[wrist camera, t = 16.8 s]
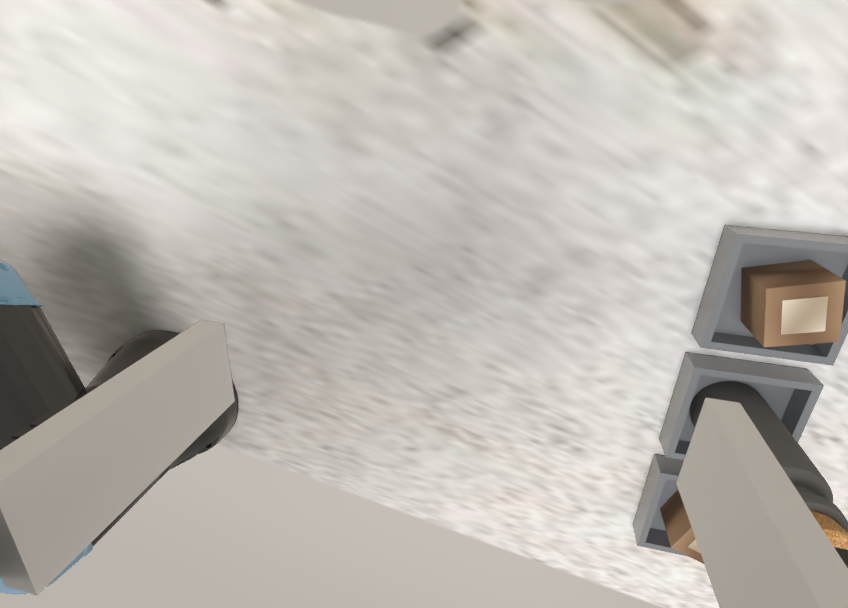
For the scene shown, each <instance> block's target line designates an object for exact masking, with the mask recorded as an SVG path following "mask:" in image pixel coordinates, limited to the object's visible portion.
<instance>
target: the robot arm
mask: <svg viewBox="0 0 848 608" xmlns="http://www.w3.org/2000/svg"><path fill="white" fill-rule="evenodd" d="M41 306H42V305H41V303H40V302H39V301H37V300H35V299H34V297H33V296H32V294H31V293H30V291H29V290H28V288H27V287H26V285H25V284H24V282H23V281H22V279H21V277H20V276H19V274H18V273H17V271H16V270H15V269H14V268H13V267H12V266H11V265H9V264H8V263H6V262H4V261H1V260H0V592H1V593H7V594H27V593H31V594H34V595H38V594H39V593H40V592H41V591H42V590H43V589H44V588H45V587H47V586H49V585H50V584H52V583H53V582H54V581H56V580H57V579H58V578H59V577H60V576H61V575H63V574H64V573H65V572H66V571H67V570H68V569H70V568H71V567H72V566H73V565H74V564H75V563H76V562H78V561H79V560H80V559H81V558H82V557H83V556H86V555H87V554H88V553H89V552H90V551H91V550H92V548H93V546H94V545H95V544H96V543H97V542H98V541H99V540H100V539H101V538H102V537H103V536H104V535H105V534H106V533H107V532H108V531H109V530H110V529H111V528H112V527H113V526H114V525H115V524H116V523H117V522H118V521H119V520H120V519H121V517H122V516H124V515H125V514H126V513H127V512H128V511H129V509H130V508H132V507H133V505H135V503H136V502H137V501H138V500H139V499H140V498H141V497H142V496H143V495H144V494H145V493H146V492H147V491H148V490H149V489H150V488H151V487H152V486H153V485H154V484H155V483H156V482H157V481H158V480H159V479H160V478H161V477H162V476H163V475H164V474H165V473H166V472H167V471H168V470H170V469H172V468H174V467H175V466H177V465H179V464H181V463H183V462H185V461H187V460H189V459H191V458H193V457H194V456H196V455H197V454H200V453H202V452H205V451H207V450H208V449H210V448H212V447H213V446H215V445H216V444H217V443H218V442H219V441H220V440H221V439H222V438H223V437H224V436H225V435H226V434H227V433H228V432H229V431H230V429H231V428H232V427H233V425H234V423H235V420H236V417H237V410H238V404H237V396H236V392H235V389H234V386H233V384H232V377H231V370H230V363H229V356H228V348H227V341H226V334H225V327H224V323H217V322H211V321H204V320H200V321H199V322H197V323H196V324H194V325H193V326H191V327H189V328H188V329H186V330H185V331H183V332H182V333H180V334H176V333H172V332H167V331H150V332H145V333H142V334H140V335H138V336H136V337H135V338H133V339H131V340H130V341H128V342H126V343H124V344H123V345H122V346H120V347H119V348H118V349H117V350H116V351H115V352H114V353H113V355H112V356H111V357H110V359H109V360H108V363H107V364H106V365H105V366H104V367H103V369H102V370H101V371H100V372H99V373H98V374H97V375H96V377H95V378H94V379H93V380H92V381H91V382H90V383H89V385H88V386H87V387H86V388H85V387H84V385H83V383H82V382H81V380H80V378H79V376H78V375H77V373H76V371H75V369H74V368H73V366H72V364H71V362H70V361H69V359H68V357H67V355H66V354H65V352H64V350H63V348H62V346H61V344H60V343H59V341H58V339H57V337H56V335H55V333H54V332H53V330H52V328H51V326H50V324H49V323H48V321H47V319H46V317H45V315H44V313H43V312H42V310H41V308H40V307H41ZM676 484H677V487H678V490H679V493H680V496H681V498H682V501H683V504H684V507H685V510H686V513H687V516H688V518H689V521H690V524H691V527H692V530H693V533H694V536H695V538H696V541H697V544H698V547H699V550H700V553H701V556H702V558H703V561H704V564H705V567H706V570H707V573H708V576H709V578H710V581H711V584H712V587H713V590H714V593H715V596H716V598H717V601H718V604H719V607H720V608H848V550H847V549H842V548H837V547H834V546H833V545H832V543H831V542H830V540H829V539H828V537H827V536H826V534H825V533H824V531H823V530H822V528H821V526H820V525H819V523H818V522H817V520H816V519H815V517H814V516H813V514H812V513H811V511H810V510H809V508H808V507H807V505H806V503H805V502H804V500H803V499H802V497H801V496H800V494H799V493H798V491H797V490H796V488H795V487H794V485H793V484H792V482H791V480H790V479H789V477H788V476H787V474H786V473H785V471H784V470H783V468H782V467H781V465H780V464H779V462H778V461H777V459H776V457H775V456H774V454H773V453H772V451H771V450H770V448H769V447H768V445H767V444H766V442H765V441H764V439H763V438H762V436H761V434H760V433H759V431H758V430H757V428H756V427H755V425H754V424H753V422H752V421H751V419H750V418H749V416H748V415H747V413H746V411H745V410H744V408H743V407H742V405H741V404H740V403H738V402H732V401H725V400H719V399H712V398H706V397H705V400H704V403H703V406H702V409H701V412H700V415H699V418H698V421H697V424H696V427H695V430H694V433H693V436H692V439H691V441H690V444H689V447H688V450H687V453H686V456H685V459H684V462H683V465H682V468H681V471H680V474H679V477H678V480H677V483H676Z"/></svg>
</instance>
